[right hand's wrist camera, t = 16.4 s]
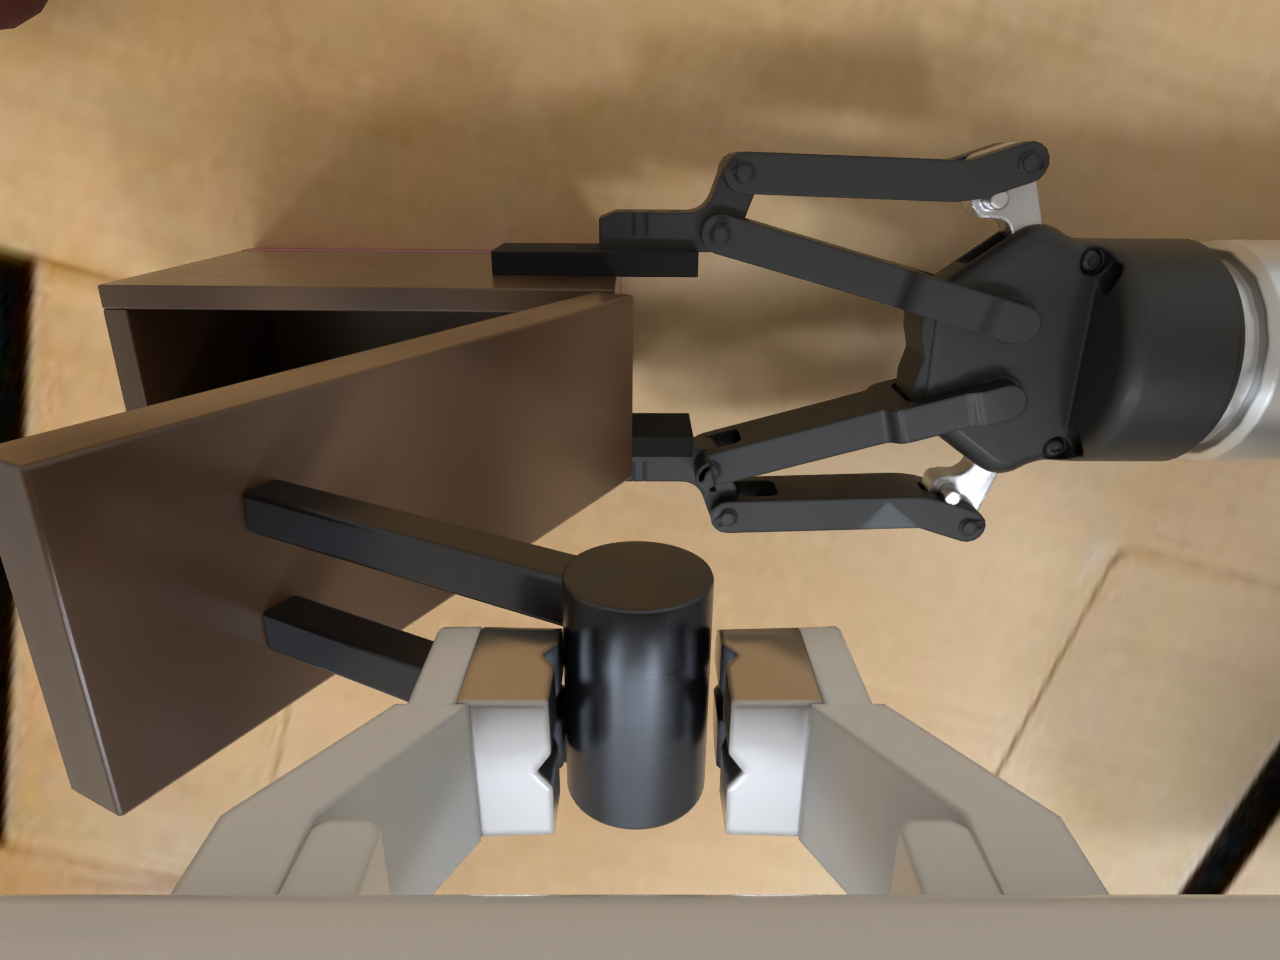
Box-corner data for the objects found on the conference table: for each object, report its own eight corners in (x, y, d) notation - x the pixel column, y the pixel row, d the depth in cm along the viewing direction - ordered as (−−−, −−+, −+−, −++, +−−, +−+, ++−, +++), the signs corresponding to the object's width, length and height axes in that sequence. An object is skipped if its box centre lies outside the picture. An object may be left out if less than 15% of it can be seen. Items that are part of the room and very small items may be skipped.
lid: (69, 791, 12) (571, 1082, 8) (-36, 451, 10) (558, 630, 6) (597, 470, 25) (891, 529, 21) (595, 291, 23) (918, 321, 19)
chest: (272, 379, 35) (136, 463, 25) (252, 247, 33) (96, 284, 23) (620, 382, 35) (615, 466, 25) (620, 251, 33) (615, 289, 23)
